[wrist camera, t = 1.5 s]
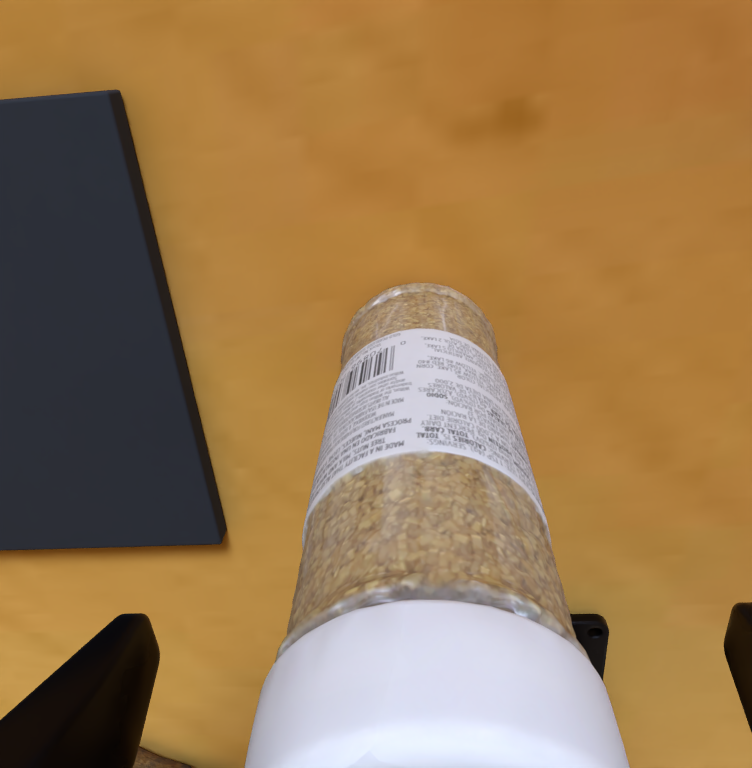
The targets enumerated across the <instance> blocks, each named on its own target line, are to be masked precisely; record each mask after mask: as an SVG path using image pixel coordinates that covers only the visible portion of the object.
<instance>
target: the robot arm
mask: <svg viewBox="0 0 752 768" xmlns="http://www.w3.org/2000/svg"><path fill="white" fill-rule="evenodd" d="M570 617H571V622H572V627H573V630H574V632H575V635H576V639H577V640H578V641H579V643H580V644H581V645H582V647H583V648H584V649H585V650H586V653H587V655H588V657H589V659H590V661H591V664H592V665H593V667H594V668H595V670H596V671H597V672H598V674H599V676H600V677H601V679H602V681H603V674H604V667H605V659H606V651H607V644H608V636H609V630H608V626H607V623H606V620H605V619H604V618H603V617H602V616H600V615H598V614H570ZM591 628H592V629H591ZM724 651H725V656H726V659H727V662H728V665H729V668H730V671H731V674H732V677H733V680H734V683H735V686H736V688H737V691H738V694H739V697H740V700H741V703H742V706H743V709H744V712H745V715H746V718H747V721H748V724H749V726H750V729H751V732H752V602H751V603H737V604H735V605H734V606H733V608H732V611H731V615H730V619H729V623H728V627H727V631H726V635H725V639H724ZM159 660H160V651H159V646H158V643H157V640H156V637H155V634H154V631H153V628H152V626H151V623H150V620H149V618H148V616H147V615H145V614H142V613H140V614H122V615H119V616H118V617H116V618H115V619H114V620H113V621H112V622H110V623H109V624H108V625H107V626H106V627H105V628H104V629H103V630H101V631H100V632H99V633H98V634H97V635H96V636H95V637H93V638H92V639H91V640H90V641H89V642H88V643H87V644H86V645H84V646H83V647H82V648H81V649H80V650H79V651H78V652H77V653H75V654H74V655H73V656H72V657H71V658H70V659H69V660H68V661H66V662H65V663H64V664H63V665H62V666H61V667H60V668H59V669H57V670H56V671H55V672H54V673H53V674H52V675H51V676H50V677H48V678H47V679H46V680H45V681H44V682H43V683H42V684H40V685H39V686H38V687H37V688H36V689H35V690H34V691H33V692H31V693H30V694H29V695H28V696H27V697H26V698H25V699H24V700H22V701H21V702H20V703H19V704H18V705H17V706H16V707H15V708H13V709H12V710H11V711H10V712H9V713H8V714H7V715H6V716H4V717H3V718H2V719H1V720H0V768H133V766H134V763H135V759H136V756H137V752H138V748H139V744H140V740H141V736H142V732H143V728H144V724H145V720H146V715H147V711H148V707H149V703H150V699H151V695H152V691H153V687H154V682H155V678H156V674H157V670H158V666H159Z"/></svg>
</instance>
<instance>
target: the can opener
mask: <svg viewBox="0 0 752 768" xmlns="http://www.w3.org/2000/svg"><path fill="white" fill-rule="evenodd" d="M133 768H191V766H189V765H186V764H183V763H180V762H176V761H173V760H170V759H167V758H163V757H160V756H157V755H155V754H153V753H151V752H149V751H146V750H144V749H142V748H140V747H139V748H138V752H137V756H136V759H135V763H134V766H133Z"/></svg>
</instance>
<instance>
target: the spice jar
mask: <svg viewBox="0 0 752 768" xmlns="http://www.w3.org/2000/svg"><path fill="white" fill-rule="evenodd" d="M341 364H342V368H341V373H340V376H339V378H338V380H337V382H336V385H335V387H334V391H333V395H332V399H331V404H330V408H329V413H328V418H327V422H326V427H325V431H324V435H323V440H322V444H321V449H320V453H319V458H318V462H317V467H316V472H315V476H314V481H313V486H312V491H311V495H310V500H309V505H308V509H307V514H306V518H305V523H304V529H303V535H302V545H303V554H302V558H301V563H300V567H299V574H298V580H297V585H296V589H295V594H294V598H293V606H292V610H291V616H290V620H289V624H288V629H287V636H286V637H285V639H284V640H283V642H282V644H281V646H280V647H279V649H278V653H277V657H276V660H275V663H274V665H273V666H272V668H271V670H270V672H269V674H268V675H267V677H266V679H265V682H264V684H263V687H262V689H261V692H260V697H259V701H258V706H257V710H256V715H255V719H254V724H253V728H252V733H251V737H250V742H249V746H248V752H247V757H246V762H245V768H630V767H629V763H628V760H627V756H626V753H625V749H624V746H623V743H622V739H621V736H620V732H619V729H618V726H617V722H616V719H615V716H614V712H613V709H612V705H611V702H610V699H609V696H608V693H607V690H606V687H605V685H604V683H603V681H602V679H601V677H600V676H599V674H598V672H597V671H596V670H595V668H594V667H593V665H592V664H591V661H590V659H589V657H588V655H587V653H586V650H585V649H584V648H583V647H582V645H581V644H580V643H579V641H578V640H577V639H576V635H575V632H574V630H573V627H572V622H571V617H570V612H569V609H568V606H567V603H566V600H565V596H564V592H563V588H562V584H561V581H560V578H559V575H558V572H557V569H556V564H555V558H554V555H553V552H552V548H551V538H550V534H549V529H548V525H547V521H546V517H545V514H544V510H543V507H542V504H541V500H540V497H539V493H538V489H537V486H536V482H535V479H534V475H533V472H532V468H531V465H530V461H529V458H528V454H527V451H526V447H525V444H524V440H523V437H522V433H521V430H520V426H519V423H518V420H517V416H516V413H515V409H514V406H513V402H512V399H511V396H510V393H509V389H508V386H507V383H506V381H505V378H504V376H503V374H502V372H501V371H500V366H499V363H498V361H497V345H496V341H495V335H494V330H493V327H492V325H491V324H490V322H489V321H488V320H487V318H486V317H485V315H484V313H483V312H482V310H481V309H480V308H479V307H478V306H477V305H476V304H475V303H474V302H473V301H472V300H471V299H469V298H468V297H467V296H465V295H463V294H462V293H460V292H457V291H456V290H454V289H452V288H450V287H449V286H442V285H438V284H433V283H409V284H406V285H399V286H395V287H392V288H388V289H386V290H385V291H383V292H381V293H380V294H378V295H377V296H375V297H373V298H372V299H370V300H369V301H368V302H367V303H366V305H365V306H364V307H362V308H360V309H359V310H358V311H357V313H356V314H355V315H354V317H353V318H352V320H351V323H350V324H349V326H348V328H347V331H346V333H345V335H344V339H343V345H342V355H341Z"/></svg>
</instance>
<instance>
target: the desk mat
mask: <svg viewBox="0 0 752 768" xmlns="http://www.w3.org/2000/svg"><path fill="white" fill-rule="evenodd" d="M225 532H226V525H225V521H224V517H223V513H222V508H221V504H220V500H219V496H218V492H217V488H216V484H215V480H214V476H213V471H212V467H211V463H210V459H209V455H208V451H207V447H206V443H205V438H204V434H203V430H202V426H201V422H200V418H199V414H198V410H197V406H196V401H195V397H194V393H193V389H192V385H191V381H190V377H189V373H188V369H187V364H186V360H185V356H184V352H183V348H182V344H181V340H180V336H179V331H178V327H177V323H176V319H175V315H174V311H173V307H172V303H171V299H170V294H169V290H168V286H167V282H166V278H165V274H164V270H163V266H162V261H161V257H160V253H159V249H158V245H157V241H156V237H155V233H154V229H153V224H152V220H151V216H150V212H149V208H148V204H147V200H146V196H145V192H144V187H143V183H142V179H141V175H140V171H139V167H138V163H137V159H136V154H135V150H134V146H133V142H132V138H131V134H130V130H129V126H128V122H127V117H126V113H125V109H124V105H123V101H122V97H121V93H120V91H119V90H107V91H96V92H84V93H73V94H61V95H50V96H38V97H27V98H16V99H4V100H0V550H35V549H70V548H106V547H141V546H177V545H212V544H221V543H222V540H223V537H224V535H225Z"/></svg>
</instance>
